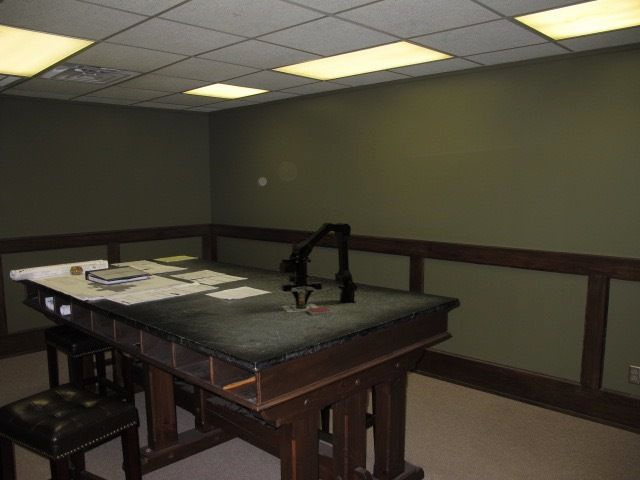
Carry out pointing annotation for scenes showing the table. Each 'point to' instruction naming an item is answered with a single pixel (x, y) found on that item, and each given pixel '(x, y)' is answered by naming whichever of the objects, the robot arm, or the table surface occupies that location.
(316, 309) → the ink pad
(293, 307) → the paper
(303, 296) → the stamp
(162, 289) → the table surface
